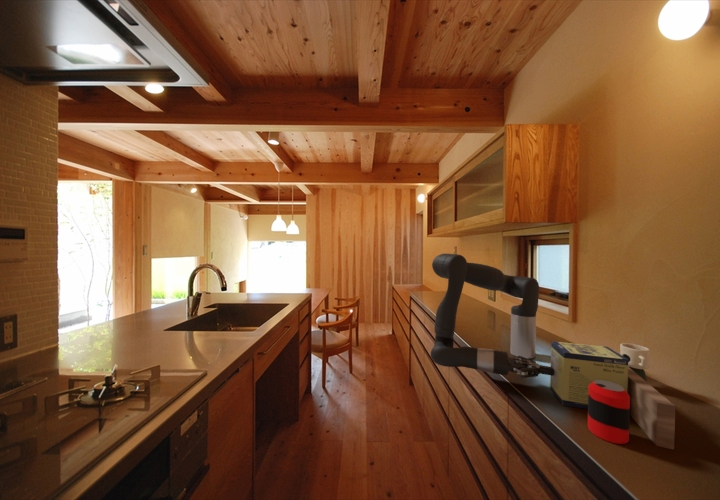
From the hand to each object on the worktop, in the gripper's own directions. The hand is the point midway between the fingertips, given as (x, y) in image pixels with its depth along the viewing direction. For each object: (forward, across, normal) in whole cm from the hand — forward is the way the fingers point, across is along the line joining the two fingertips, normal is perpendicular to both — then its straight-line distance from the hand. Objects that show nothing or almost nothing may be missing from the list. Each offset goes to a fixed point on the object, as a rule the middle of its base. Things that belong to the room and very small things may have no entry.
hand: (553, 371), depth 87 cm
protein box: (+8, 0, +7) cm, 11 cm away
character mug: (+26, +19, +7) cm, 33 cm away
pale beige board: (+18, -4, +7) cm, 20 cm away
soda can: (+8, -17, +7) cm, 20 cm away
